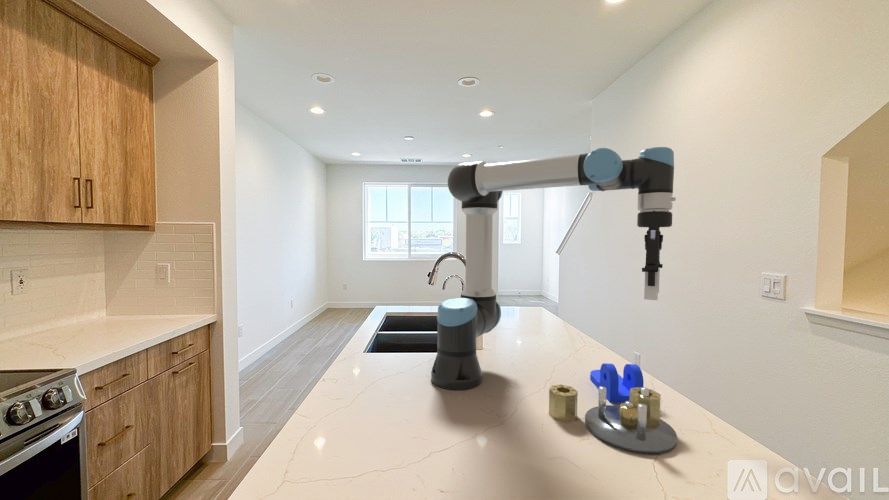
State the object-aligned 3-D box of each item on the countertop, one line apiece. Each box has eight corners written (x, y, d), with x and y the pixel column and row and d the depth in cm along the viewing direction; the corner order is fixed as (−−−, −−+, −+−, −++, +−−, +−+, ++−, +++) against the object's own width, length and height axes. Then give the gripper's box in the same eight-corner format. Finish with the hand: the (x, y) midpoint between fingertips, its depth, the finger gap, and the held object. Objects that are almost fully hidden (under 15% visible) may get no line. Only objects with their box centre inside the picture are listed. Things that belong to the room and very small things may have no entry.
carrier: (577, 436, 76) (578, 398, 76) (592, 403, 91) (593, 372, 91) (677, 466, 67) (679, 423, 66) (676, 423, 82) (677, 388, 81)
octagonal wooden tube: (546, 416, 85) (547, 391, 84) (553, 406, 90) (554, 382, 89) (572, 423, 81) (573, 397, 81) (578, 412, 86) (579, 388, 86)
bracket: (642, 404, 92) (643, 370, 91) (609, 403, 92) (610, 369, 92) (613, 376, 109) (614, 347, 109) (586, 375, 110) (586, 347, 110)
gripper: (672, 207, 77) (669, 305, 77) (672, 213, 98) (669, 290, 98) (633, 208, 81) (630, 301, 81) (640, 214, 102) (638, 288, 102)
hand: (652, 295), depth 90 cm, fingers open, 13 cm apart
